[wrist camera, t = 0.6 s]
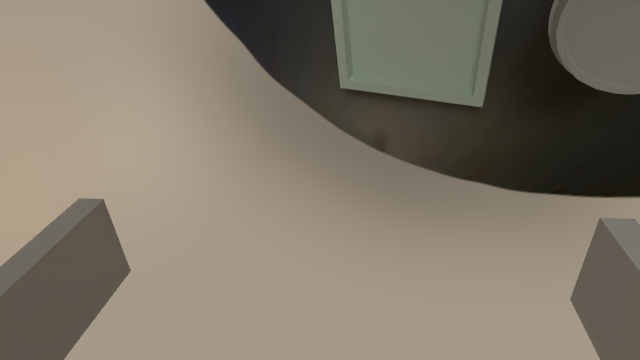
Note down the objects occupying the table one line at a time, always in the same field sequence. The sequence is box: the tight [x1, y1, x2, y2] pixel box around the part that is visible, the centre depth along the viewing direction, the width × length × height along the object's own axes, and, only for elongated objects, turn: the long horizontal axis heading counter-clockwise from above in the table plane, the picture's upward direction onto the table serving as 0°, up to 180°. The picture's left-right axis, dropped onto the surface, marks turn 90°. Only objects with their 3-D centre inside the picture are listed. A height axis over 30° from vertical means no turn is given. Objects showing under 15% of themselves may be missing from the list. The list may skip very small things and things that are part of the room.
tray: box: [331, 0, 504, 107], centre depth 39 cm, size 15×15×2 cm
